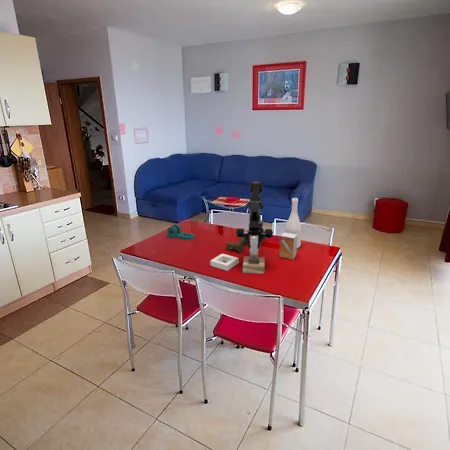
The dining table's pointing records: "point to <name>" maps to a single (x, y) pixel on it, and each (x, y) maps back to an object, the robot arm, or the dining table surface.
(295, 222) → the wine bottle
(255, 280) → the dining table surface
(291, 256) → the small box
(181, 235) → the bracket
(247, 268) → the socket block
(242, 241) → the brown bone-shaped piece
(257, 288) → the dining table surface
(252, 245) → the grey peg
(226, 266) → the white square frame
